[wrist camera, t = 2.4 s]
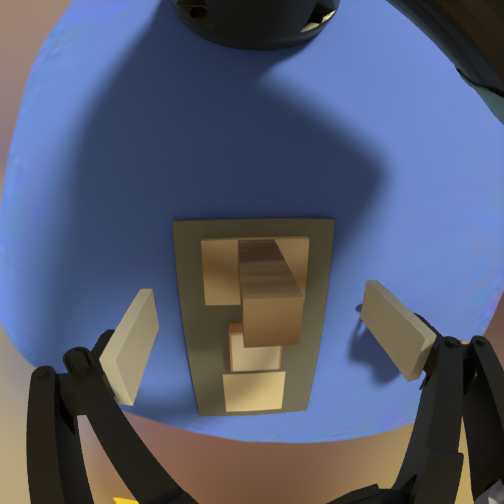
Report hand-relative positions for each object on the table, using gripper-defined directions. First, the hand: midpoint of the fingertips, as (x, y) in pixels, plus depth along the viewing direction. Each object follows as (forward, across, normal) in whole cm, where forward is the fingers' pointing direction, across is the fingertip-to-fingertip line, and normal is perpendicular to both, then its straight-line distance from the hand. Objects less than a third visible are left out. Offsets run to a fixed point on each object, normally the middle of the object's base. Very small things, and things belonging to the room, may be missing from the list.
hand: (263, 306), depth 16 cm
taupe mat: (+9, 0, -9) cm, 13 cm away
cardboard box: (+8, 0, -1) cm, 9 cm away
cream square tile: (+9, 0, -9) cm, 13 cm away
